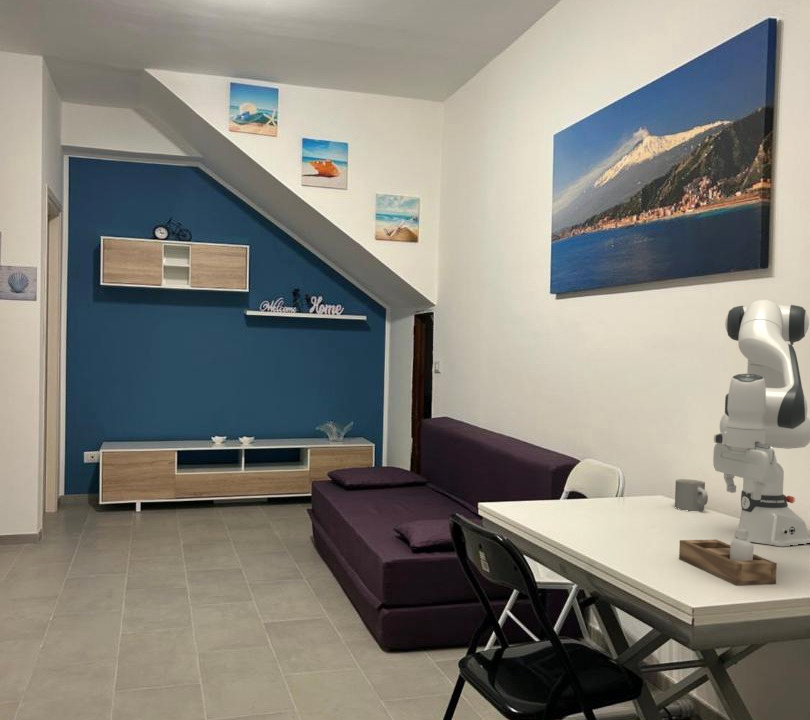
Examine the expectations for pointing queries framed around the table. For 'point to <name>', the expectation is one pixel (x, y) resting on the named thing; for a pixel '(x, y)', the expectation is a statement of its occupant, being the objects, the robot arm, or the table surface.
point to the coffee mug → (690, 495)
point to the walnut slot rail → (727, 563)
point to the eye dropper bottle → (741, 546)
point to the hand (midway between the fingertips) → (743, 495)
